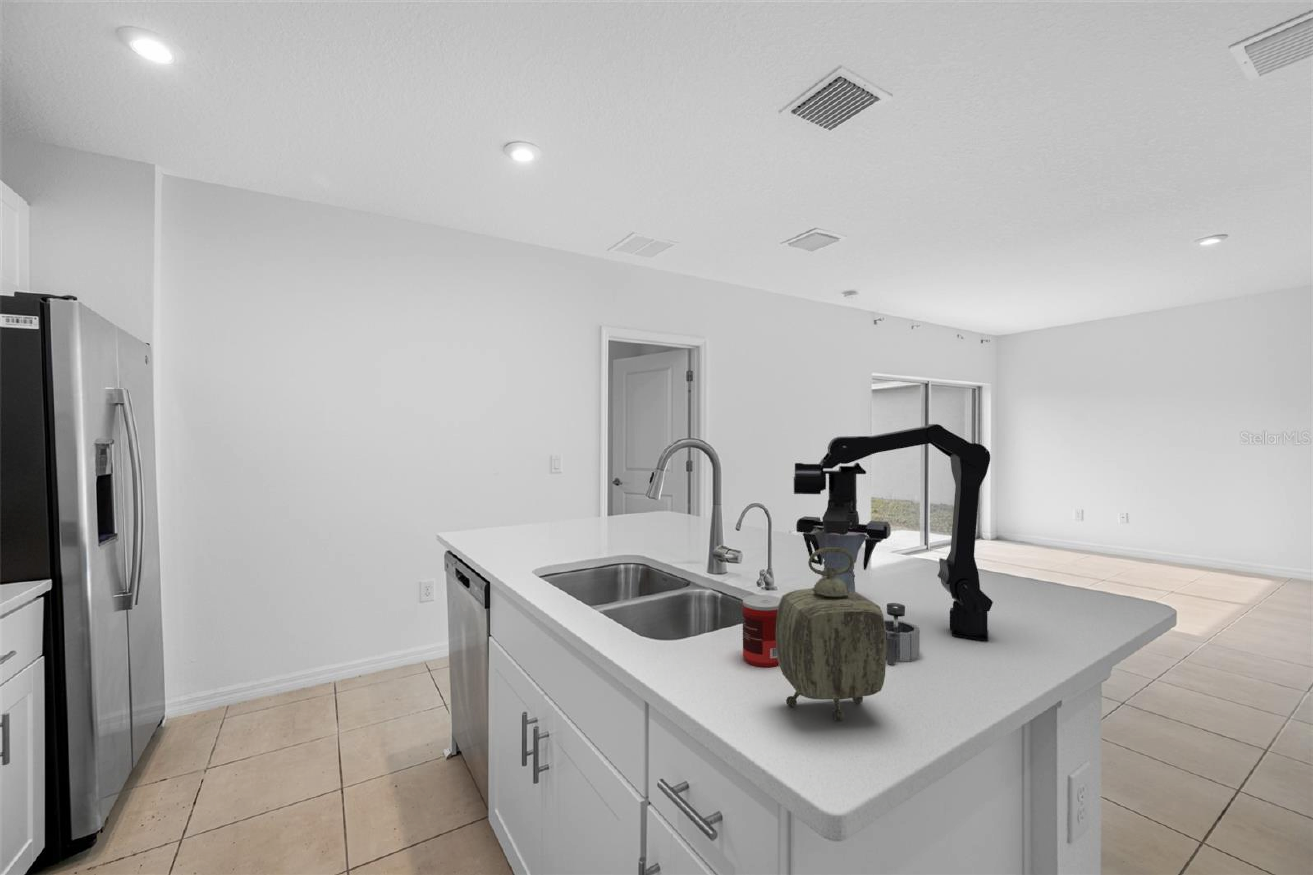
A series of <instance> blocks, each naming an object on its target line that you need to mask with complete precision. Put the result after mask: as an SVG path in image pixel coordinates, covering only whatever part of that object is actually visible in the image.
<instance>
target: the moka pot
mask: <svg viewBox="0 0 1313 875" xmlns="http://www.w3.org/2000/svg"><path fill="white" fill-rule="evenodd" d="M818 531H822V542H823V548H827V547H836V548H842V549H844V550H846V551H848V552H849V553H850V554H851V556H852V558H853V565H852V567H851V568H850V569H849V570H848V571H847V572H845V573H843V574H841V575H835V577H837V578H839V579H841V580H842V581H843V582H844V583H845V584H846V585H847V587H848V589H849V590H852V591H854V592H856V582H855V577H856V574H855V572H854V571H855V564H856V563H857V558H858V555H859V552H860V549H861V548H862V546H863V544H864V543H865V539H866V538H867V537H868V535H867V534H866V533H857V532H848V533H847V534H845V535H840V534H836V533H830V534H827V533H824V530H818ZM803 540H804V542H805V546H806V548H807V553H808V556H809V557H810V556H811V555H812V554H813V553H814V552H813V546H812V543H811V541H810V540H809V539H808V537H806V536H803ZM812 564H816V565H820V564H819V561H818V559H816V558H815V557H814V558H813V560H812ZM849 564H850V559H849V558H848V556H846V555H845V554H843V553H841V552H824V553H823V564H822V565H823V566H824V567H823V570H822V571H827V567H828V566H833V567H834V569H835V571H836V570H841V569H844V568H846V567H847V566H849ZM822 577H827V576H824V575H821V578H822Z"/></svg>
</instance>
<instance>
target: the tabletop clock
mask: <svg viewBox="0 0 1313 875" xmlns="http://www.w3.org/2000/svg"><path fill="white" fill-rule="evenodd" d="M824 552H841V553H843V554H845V555H846V556H848V558H849V559H850V564H849V566H847V567H846V568H844V569H841V570H836V571H835V569H834V567H833V566H828V567H827V571H823V570H822V569H821V570H820V569H817V568H815V567H814V566H813V563H812V560H813V558H815V557H816V558H817V555H818V554H821V553H824ZM807 564H808V567H809V569H810V570H811V571H812V572H813V573H815V574H817V575H820V576H821V577H820V578H819V579H818V580H817V582H815V585H814V586H813V588H812V587H811V588H803V589H796V590H792V591H789V592H787V593H785V594H783V595H782V596H781V601H780V603H779V607H778V612H777V622H776V648H777V657H778V662H779V665H778V667H779V670H780V671H781V673H782V675H783V676H784V678H785V679H786V680H787V682H789V683H790V685H791V686H792V688H794V690H795V693H794V694H793V695H788V696H787V697H786V699H785V700H786V704H787V706H788V707H789V708H794V707H796V705H797V703H798V700H797V698H799V696H801V697H804V698H806V699H811V700H830V701H831V700H833V703H834V708H835V709H833V711H832V718H833V719H834V720H836V721H837V722H840V721H842V720H844V717H845V715H844V712H843V710H842V709H840V700H846V699H852V700H853V701H852V702H854V703H856V704H860V703H862V701H863V699H864V697H868V696H873V695H876V694H878V693H879V692H881V691H882V689H883V686H884V684H885V677H886V667H887V666H886V665H887V659H886V654H887V641H886V627H885V621H884V620H885V618H884V613H883V611H882V608H881V606H879V605H878V604H877V603H875V602H873V601H872V600H870V599H869V598H867V597H865V596H863V595H861V594H860V593H858V592H856V591H855V592H854V591H852V590H849V589H848V587H847V585H846V584H845V583H844V582H843V581H842V580H841V579H839V578H837V577H835V575H841V574H843V573H845V572H847V571H848V570H849V569H850V568H851V567H852V565H853V558H852V556H851V554H850V553H849V552H848V551H846V550H844V549H842V548H836V547H827V548H822V549H819V550H817V551H815V550H814V552H813V554H812V555H811V556H809V558H808V563H807ZM822 575H824V576H827V577H822Z"/></svg>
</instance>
